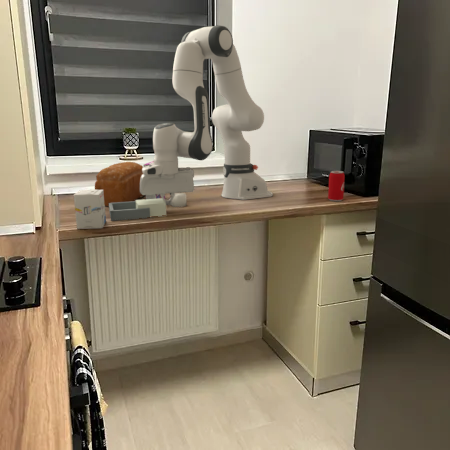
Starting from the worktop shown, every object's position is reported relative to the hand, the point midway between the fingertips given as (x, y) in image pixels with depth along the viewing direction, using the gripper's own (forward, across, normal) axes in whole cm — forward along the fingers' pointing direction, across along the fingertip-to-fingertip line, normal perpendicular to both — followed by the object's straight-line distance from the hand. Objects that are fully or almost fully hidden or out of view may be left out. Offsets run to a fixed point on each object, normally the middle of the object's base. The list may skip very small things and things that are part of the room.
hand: (167, 204), depth 169 cm
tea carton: (+3, +7, +1) cm, 7 cm away
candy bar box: (+3, +2, -20) cm, 21 cm away
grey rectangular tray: (+3, +14, 0) cm, 14 cm away
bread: (+3, +15, -28) cm, 32 cm away
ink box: (+3, +28, +11) cm, 30 cm away
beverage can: (+3, -70, +2) cm, 70 cm away
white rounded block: (+3, -6, -10) cm, 12 cm away
